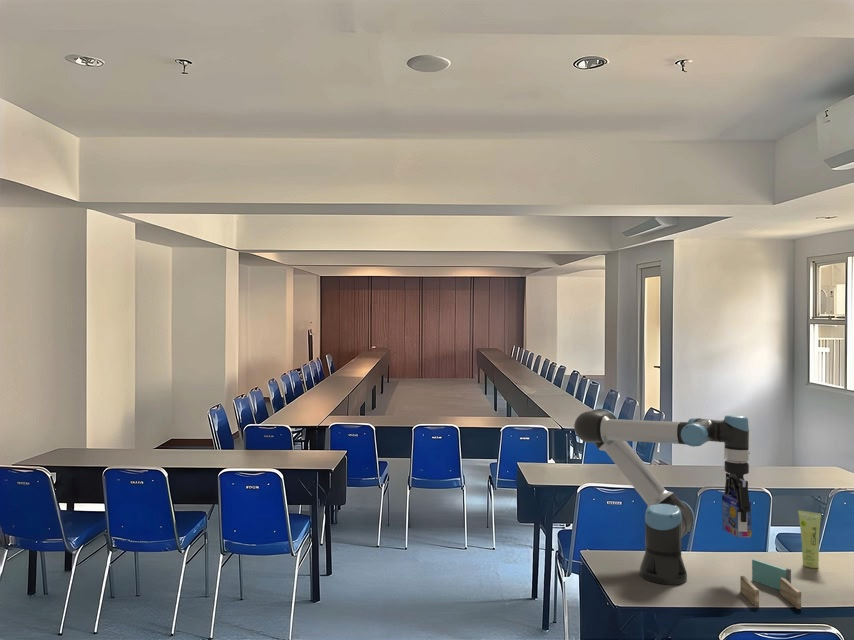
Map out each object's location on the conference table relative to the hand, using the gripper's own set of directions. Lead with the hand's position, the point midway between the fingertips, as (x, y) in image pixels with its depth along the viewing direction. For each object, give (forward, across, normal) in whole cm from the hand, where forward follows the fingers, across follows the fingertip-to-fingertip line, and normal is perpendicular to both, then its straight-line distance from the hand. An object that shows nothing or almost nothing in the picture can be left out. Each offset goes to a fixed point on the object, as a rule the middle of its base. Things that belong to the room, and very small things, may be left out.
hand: (736, 526), depth 224 cm
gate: (+18, -6, -9) cm, 21 cm away
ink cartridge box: (+3, 0, 0) cm, 3 cm away
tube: (+18, +18, -32) cm, 40 cm away
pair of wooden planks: (+18, -17, -4) cm, 25 cm away
